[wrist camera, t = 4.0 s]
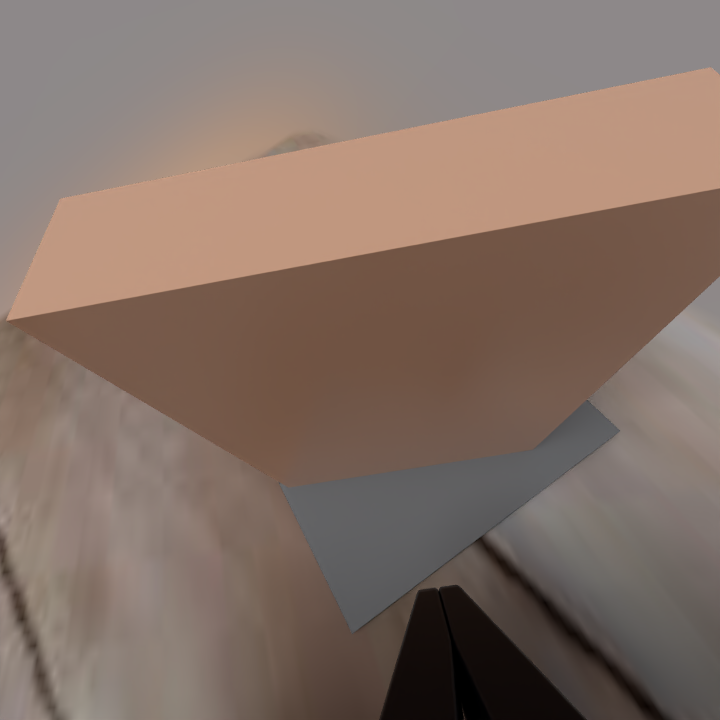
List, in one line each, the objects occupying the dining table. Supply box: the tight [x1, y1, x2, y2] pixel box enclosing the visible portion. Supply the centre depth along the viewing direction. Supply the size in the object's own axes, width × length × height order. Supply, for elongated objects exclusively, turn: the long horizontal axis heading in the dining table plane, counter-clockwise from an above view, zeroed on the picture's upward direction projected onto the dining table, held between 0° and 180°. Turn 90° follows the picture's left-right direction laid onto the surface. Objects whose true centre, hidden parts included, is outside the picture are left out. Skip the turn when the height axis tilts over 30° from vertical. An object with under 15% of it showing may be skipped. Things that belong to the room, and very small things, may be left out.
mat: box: [279, 400, 620, 634], centre depth 17 cm, size 15×13×1 cm
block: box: [6, 68, 720, 488], centre depth 10 cm, size 2×10×12 cm, turn 97°
